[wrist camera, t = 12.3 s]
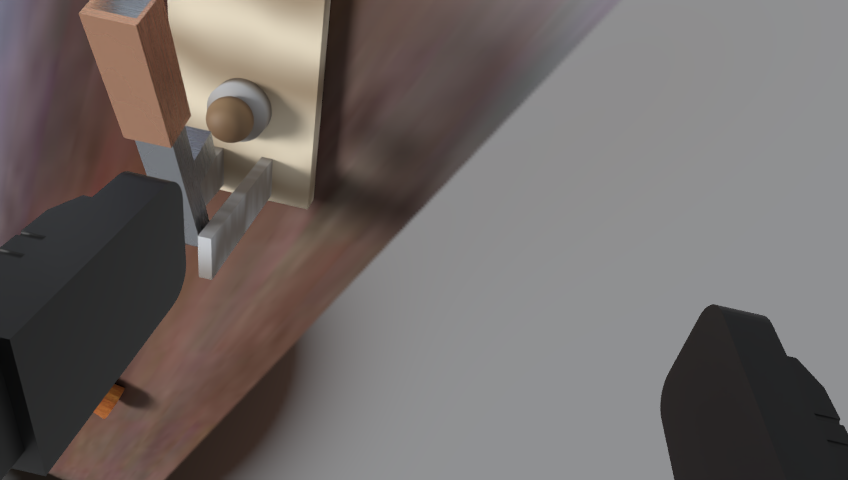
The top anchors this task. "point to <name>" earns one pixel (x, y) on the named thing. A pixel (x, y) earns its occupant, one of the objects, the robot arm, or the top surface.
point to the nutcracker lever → (151, 97)
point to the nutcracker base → (252, 105)
